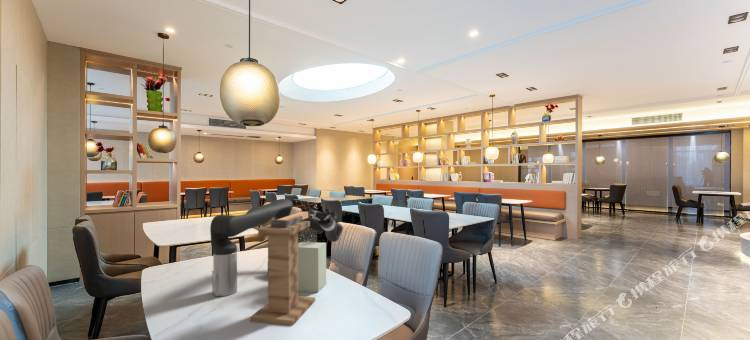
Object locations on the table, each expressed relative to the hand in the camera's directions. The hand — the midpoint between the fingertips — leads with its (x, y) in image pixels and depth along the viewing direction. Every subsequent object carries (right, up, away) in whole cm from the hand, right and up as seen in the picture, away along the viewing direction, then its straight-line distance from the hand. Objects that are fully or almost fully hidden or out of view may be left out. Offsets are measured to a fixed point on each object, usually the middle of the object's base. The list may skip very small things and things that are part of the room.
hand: (317, 209), depth 151 cm
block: (-5, -2, -24) cm, 24 cm away
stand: (-6, -34, -32) cm, 47 cm away
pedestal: (-2, -34, -8) cm, 35 cm away
